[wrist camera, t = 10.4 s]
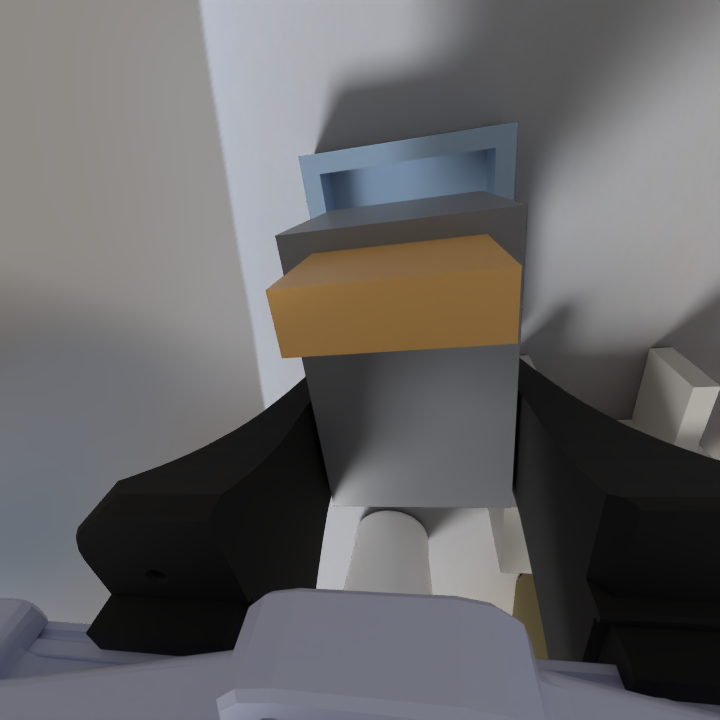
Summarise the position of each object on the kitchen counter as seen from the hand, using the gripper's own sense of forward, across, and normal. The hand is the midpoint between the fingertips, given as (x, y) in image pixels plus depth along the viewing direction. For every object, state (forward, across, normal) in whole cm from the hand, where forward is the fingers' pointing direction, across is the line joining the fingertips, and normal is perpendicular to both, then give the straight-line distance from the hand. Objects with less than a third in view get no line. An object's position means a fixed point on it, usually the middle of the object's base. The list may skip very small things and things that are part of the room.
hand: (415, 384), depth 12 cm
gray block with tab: (+2, 0, -2) cm, 2 cm away
